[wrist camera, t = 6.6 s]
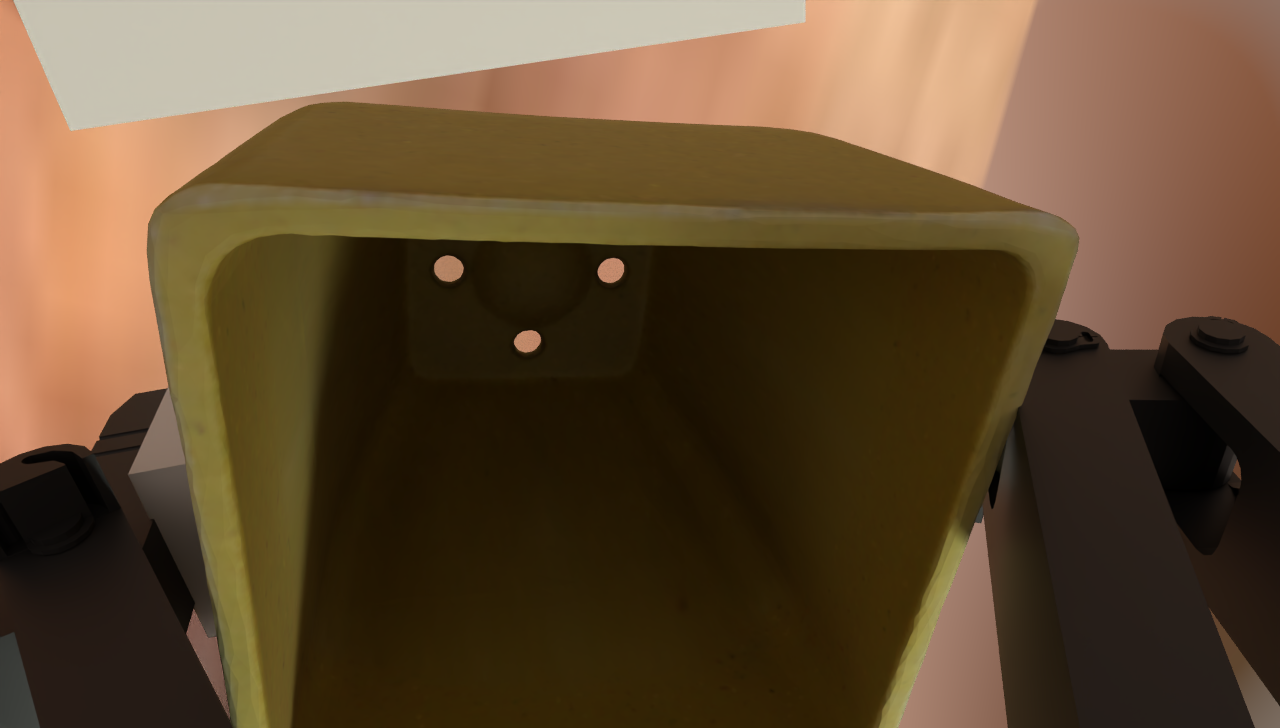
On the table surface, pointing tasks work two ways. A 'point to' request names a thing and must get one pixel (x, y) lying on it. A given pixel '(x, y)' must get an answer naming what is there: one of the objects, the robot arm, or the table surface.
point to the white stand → (332, 44)
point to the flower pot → (587, 415)
